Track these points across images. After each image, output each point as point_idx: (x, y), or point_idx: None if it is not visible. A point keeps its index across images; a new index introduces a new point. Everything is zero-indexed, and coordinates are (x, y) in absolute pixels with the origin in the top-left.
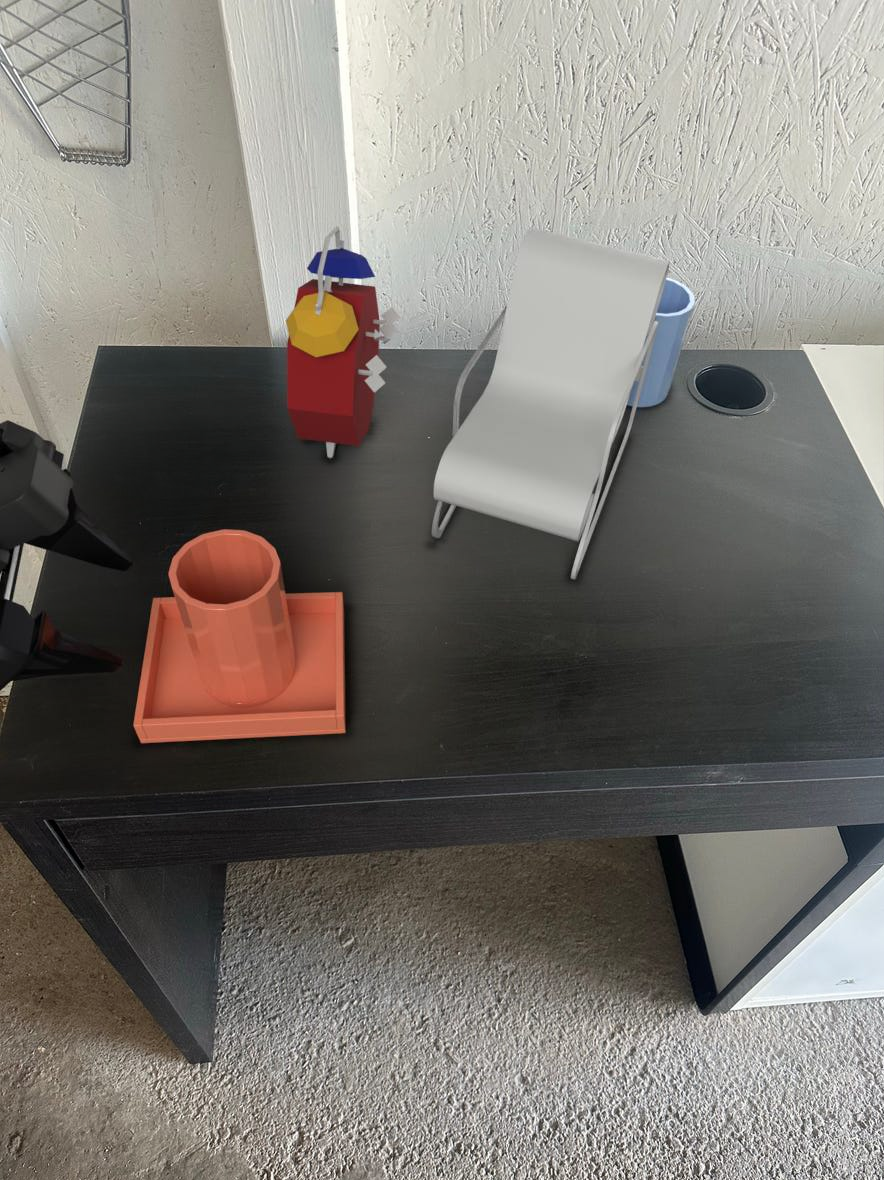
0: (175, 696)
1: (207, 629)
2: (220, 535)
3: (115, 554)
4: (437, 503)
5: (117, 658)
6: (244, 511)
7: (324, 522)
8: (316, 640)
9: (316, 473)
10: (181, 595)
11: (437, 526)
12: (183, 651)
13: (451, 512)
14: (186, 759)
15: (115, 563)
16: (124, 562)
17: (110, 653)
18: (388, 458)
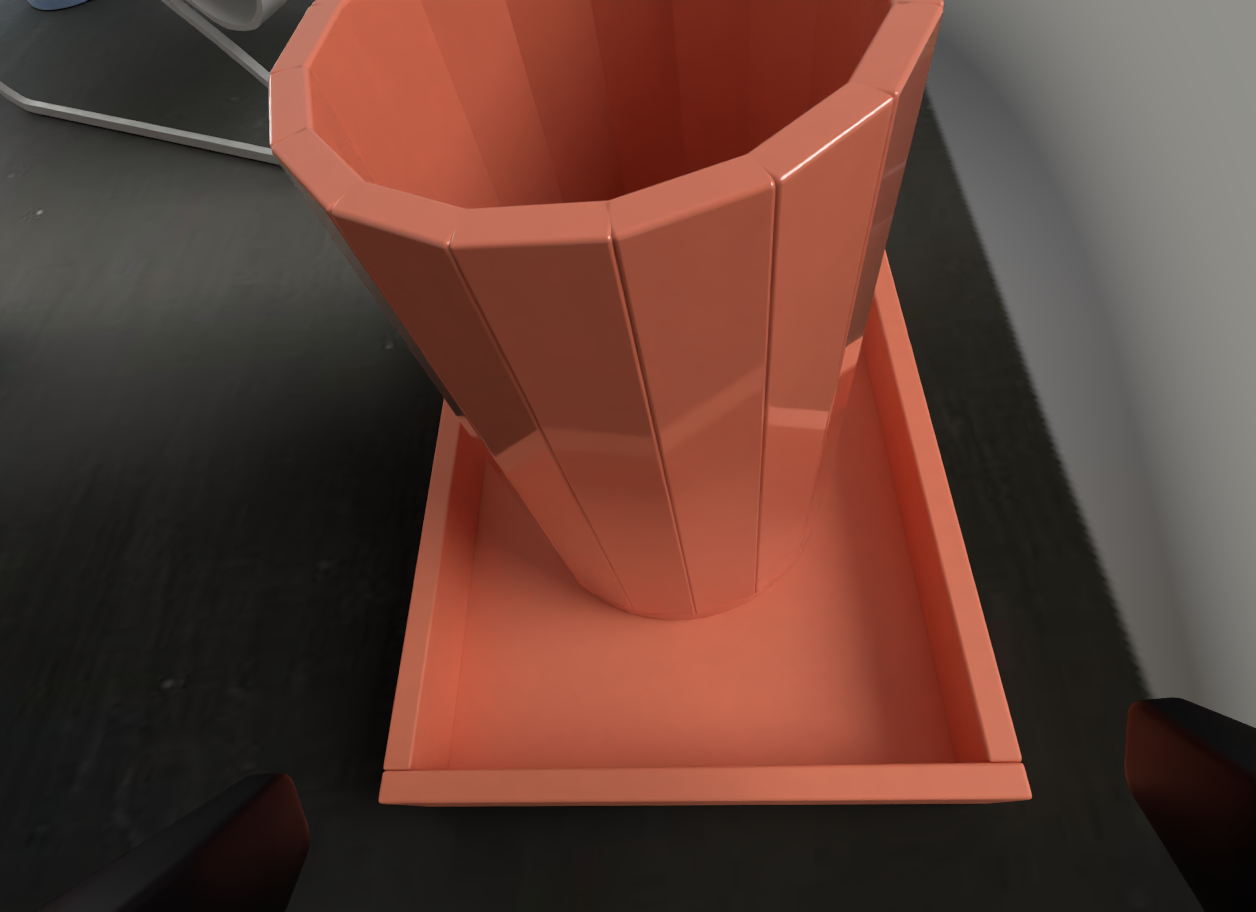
0: (790, 691)
1: (890, 213)
2: (310, 82)
3: (188, 875)
4: (259, 75)
5: (1185, 721)
6: (73, 576)
7: (199, 375)
8: None
9: (26, 409)
10: (843, 118)
11: None
12: (599, 689)
13: (268, 148)
14: (1018, 633)
15: (251, 896)
16: (261, 823)
17: (1230, 757)
18: (59, 273)
